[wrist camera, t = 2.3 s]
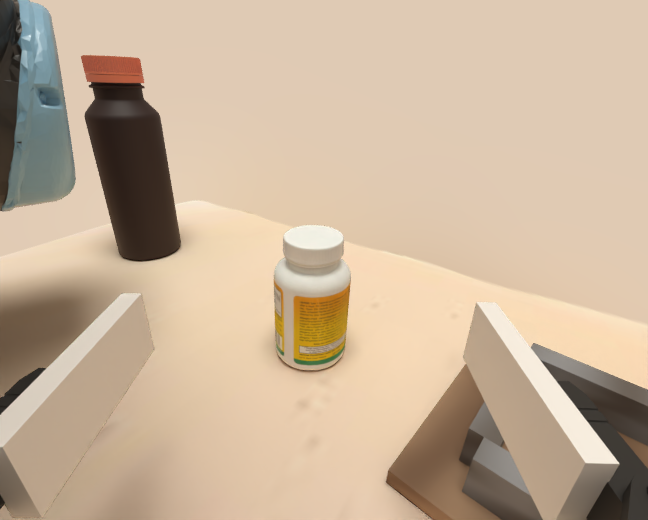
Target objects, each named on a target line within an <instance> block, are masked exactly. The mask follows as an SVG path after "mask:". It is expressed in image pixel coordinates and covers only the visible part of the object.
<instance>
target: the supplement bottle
mask: <svg viewBox="0 0 648 520" xmlns="http://www.w3.org/2000/svg"><path fill="white" fill-rule="evenodd" d="M343 248H344V237H343V235H342V233H341V232H339V231H338V230H336V229H334V228H331V227H327V226H320V225H305V226H299V227H295V228H292V229H290V230H288V231H287V232H286V233H285V234H284V238H283V253H284V256H285V257H284V258H283V259H282V260H280V262H279V263H278V264H277V266H276V268H275V271H274V302H275V337H276V349H277V353H278V355H279V356H280V358H281V359H282V360H283V361H284V362H285V363H286V364H288V365H290V366H292V367H294V368H297V369H301V370H320V369H324V368H327V367H330V366H332V365H333V364H335V363H336V362H337V361H338V360H339V359H340V358H341V357H342V355H343V353H344V349H345V341H346V329H347V317H348V305H349V293H350V281H351V273H350V270H349V267H348V265H347V264H346V263H345V262H344V261H343V260H342V259H341V257H342V255H343V253H344V249H343Z"/></svg>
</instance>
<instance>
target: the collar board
mask: <svg viewBox="0 0 648 520" xmlns="http://www.w3.org/2000/svg"><path fill="white" fill-rule="evenodd" d="M531 349H532V350H533V351H534V353H535V354H536V355H537V357H538V358H539V359H540V361H541V362H542V363H543V364H544V366H545V367H546V368H547V370H548V371H549V372H550V374H551V375H552V376H553V378H554V379H555V380H556V381H569V382H571V383H572V384H573V385H575V386H576V387H577V388H579V389H580V390H581V391H583V392H584V393H585V394H586V395H587V396H588V397H589V398H590V400H591V401H592V402H593V403H594V404H595V406H596V407H597V408H598V411H599V412H601V413H602V414H603V415H604V416H605V418H606V419H607V420H608V423H609V424H611V425H612V426H613V427H614V428H615V430H616V431H617V432H618V433H619V434H620V436H621V437H622V438H623V439H624V440H625V442H626V443H627V444H628V445H629V446H630V448H631V449H632V450H633V451H634V453H635V454H636V455H637V456H638V457H639V459H640V460H641V461H642V462H643V463H644V465H645V466H646V467H647V468H648V390H647V389H644V388H642V387H640V386H637V385H635V384H632V383H630V382H627V381H625V380H623V379H620V378H618V377H615V376H613V375H610V374H608V373H606V372H603V371H601V370H598V369H596V368H593V367H591V366H589V365H586V364H584V363H581V362H579V361H576V360H574V359H572V358H569V357H567V356H564V355H562V354H559V353H557V352H555V351H552V350H550V349H547V348H545V347H543V346H540V345H538V344H535V343H533V345H532V347H531ZM386 482H387V483H388V484H389V485H390V486H392V487H393V488H394V489H396V490H397V491H398V492H399V493H401V494H402V495H403V496H404V497H406V498H407V499H408V500H410V501H411V502H412V503H413V504H415V505H416V506H417V507H418V508H420V509H421V510H422V511H424V512H425V513H426V514H427V515H429V516H430V517H431V518H432V519H434V520H543V519H542V517H541V515H540V513H539V511H538V509H537V507H536V505H535V503H534V501H533V499H532V497H531V495H530V493H529V491H528V489H527V486H526V484H525V482H524V480H523V478H522V476H521V474H520V472H519V470H518V468H517V466H516V464H515V462H514V460H513V458H512V456H511V454H510V452H509V450H508V448H507V446H506V444H505V442H504V440H503V438H502V436H501V434H500V431H499V429H498V427H497V425H496V423H495V421H494V419H493V417H492V415H491V413H490V411H489V409H488V407H487V405H486V403H485V401H484V399H483V397H482V395H481V393H480V391H479V389H478V387H477V385H476V383H475V381H474V379H473V376H472V374H471V372H470V370H469V368H468V366H467V364H466V365H465V366H464V367H463V369H462V370H461V372H460V373H459V374H458V376H457V377H456V378H455V380H454V381H453V382H452V384H451V385H450V387H449V388H448V389H447V391H446V392H445V393H444V395H443V396H442V398H441V399H440V400H439V402H438V403H437V404H436V406H435V407H434V409H433V410H432V411H431V413H430V414H429V415H428V417H427V418H426V419H425V421H424V422H423V424H422V425H421V426H420V428H419V429H418V430H417V432H416V433H415V435H414V436H413V437H412V439H411V440H410V441H409V443H408V444H407V446H406V447H405V448H404V450H403V451H402V452H401V454H400V455H399V456H398V458H397V459H396V461H395V462H394V463H393V465H392V466H391V467H390V469H389V470H388V475H387V481H386Z"/></svg>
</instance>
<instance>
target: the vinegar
mask: <svg viewBox="0 0 648 520" xmlns="http://www.w3.org/2000/svg"><path fill="white" fill-rule="evenodd" d="M81 59H82V63H83V67H84V71H85V74H86V79H87V82H91V83H92V84H91V85H89V87H91V88H93V91H94V96H95V100H94V101H93V102H92V104H91V105H90V107H89V108H88V109H87V111H86V112H85V120H86V124H87V128H88V132H89V136H90V140H91V144H92V148H93V152H94V156H95V160H96V164H97V167H98V171H99V176H100V179H101V183H102V187H103V191H104V195H105V199H106V203H107V207H108V210H109V215H110V219H111V223H112V227H113V231H114V234H115V238H116V242H117V246H118V250H119V253H120V255H122V256H123V257H125V258H128V259H132V260H151V259H156V258H161V257H164V256H167V255H169V254H171V253H173V252H175V251H176V250H177V249H178V248H179V247H180V243H181V240H180V234H179V228H178V222H177V216H176V210H175V204H174V198H173V192H172V186H171V180H170V174H169V168H168V162H167V156H166V149H165V143H164V137H163V131H162V125H161V120H160V115H159V113H158V112H157V111H156V110H155V109H154V108H152V107H151V106H150V105H149V104H148V103H147V102H146V101H145V100H144V98H143V93H142V88H144V86H142V85H141V83H144V79H143V76H141V75H143V74H142V68H141V63H140V59H139V58H132V57H115V56H92V55H83V56H81Z"/></svg>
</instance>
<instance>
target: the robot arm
mask: <svg viewBox="0 0 648 520" xmlns="http://www.w3.org/2000/svg"><path fill="white" fill-rule="evenodd" d="M75 180H76V178H75V167H74V160H73V152H72V144H71V137H70V131H69V125H68V118H67V110H66V105H65V97H64V91H63V85H62V78H61V71H60V65H59V59H58V53H57V46H56V41H55V35H54V31H53V26H52V19H51V15H50V13H49V12H48V10H47V9H46V8H45V7H43V6H42V5H39V4H37V3H33V2H30V1H29V0H0V211H10V210H12V209H13V208H15V207H22V206H28V205H35V204H41V203H47V202H53V201H57V200H60V199H62V198H63V197H65V196H67V195H68V194H69V193H70V192H71V190H72V189H73V187H74V185H75ZM153 351H154V345H153V340H152V336H151V332H150V328H149V323H148V319H147V315H146V311H145V306H144V302H143V298H142V294H141V293H121V294H120V295H119V296H118V297H117V298H116V299H115V300H114V301H113V302H112V303H111V304H110V305H109V306H108V307H107V308H106V309H105V310H104V311H103V312H102V313H101V314H100V315H99V316H98V317H97V318H96V319H95V320H94V321H93V322H92V323H91V324H90V325H89V326H88V327H87V328H86V330H85V331H84V332H83V333H82V334H81V335H80V336H79V337H78V338H77V339H76V340H75V341H74V342H73V343H72V344H71V345H70V346H69V347H68V348H67V349H66V350H65V351H64V352H63V353H62V354H61V355H60V356H59V357H58V358H57V359H56V360H55V361H54V362H53V363H52V364H51V365H50V366H49V367H48V368H38V369H36V370H35V371H33V372H32V373H30V374H28V375H27V376H25V377H23V378H22V379H20V380H19V381H18V382H17V383H16V384H15V385H14V386H13V387H12V388H11V389H10V390H8V391H7V392H6V393H5V396H4V397H1V398H0V509H1V508H2V506H3V505H4V504H5V506H6V508H7V509H8V511H9V512H10V514H11V516H12V517H13V518H43V516H44V515H45V513H46V512H47V510H48V509H49V507H50V506H51V504H52V503H53V501H54V500H55V498H56V497H57V495H58V494H59V492H60V491H61V489H62V488H63V486H64V485H65V483H66V482H67V480H68V479H69V477H70V476H71V474H72V473H73V471H74V470H75V468H76V467H77V465H78V464H79V462H80V461H81V459H82V458H83V456H84V455H85V453H86V452H87V450H88V449H89V447H90V446H91V444H92V443H93V441H94V440H95V438H96V436H97V435H98V433H99V432H100V430H101V429H102V427H103V426H104V424H105V423H106V421H107V420H108V418H109V417H110V415H111V414H112V412H113V411H114V409H115V408H116V406H117V405H118V403H119V402H120V400H121V399H122V397H123V396H124V394H125V393H126V391H127V390H128V388H129V387H130V385H131V384H132V382H133V381H134V379H135V378H136V376H137V375H138V373H139V372H140V370H141V369H142V367H143V366H144V364H145V363H146V361H147V360H148V358H149V357H150V355H151V354H152V352H153ZM463 358H464V360H465V362H466V364H467V366H468V368H469V370H470V372H471V374H472V376H473V379H474V381H475V383H476V385H477V387H478V389H479V391H480V393H481V395H482V397H483V399H484V401H485V403H486V405H487V407H488V409H489V411H490V413H491V415H492V417H493V419H494V421H495V423H496V425H497V427H498V429H499V431H500V434H501V436H502V438H503V440H504V442H505V444H506V446H507V448H508V450H509V452H510V454H511V456H512V458H513V460H514V462H515V464H516V466H517V468H518V470H519V472H520V474H521V476H522V478H523V480H524V482H525V484H526V486H527V489H528V491H529V493H530V495H531V497H532V499H533V501H534V503H535V505H536V507H537V509H538V511H539V513H540V515H541V517H542V519H543V520H648V468H647V467H646V466H645V465H644V463H643V462H642V461H641V460H640V459H639V457H638V456H637V455H636V454H635V453H634V451H633V450H632V449H631V448H630V446H629V445H628V444H627V443H626V442H625V440H624V439H623V438H622V437H621V436H620V434H619V433H618V432H617V431H616V430H615V428H614V427H613V426H612V425H611V424H609V423H608V420H607V419H606V418H605V416H604V415H603V414H602V413H601V412H599V411H598V408H597V407H596V406H595V404H594V403H593V402H592V401H591V400H590V398H589V397H588V396H587V395H586V394H585V393H584V392H583V391H581V390H580V389H579V388H577V387H576V386H575V385H573V384H572V383H571V382H569V381H556V380H555V379H554V378H553V376H552V375H551V374H550V372H549V371H548V370H547V368H546V367H545V366H544V364H543V363H542V362H541V361H540V359H539V358H538V357H537V355H536V354H535V353H534V351H533V350H532V349H531V348H530V346H529V345H528V344H527V342H526V341H525V340H524V338H523V337H522V336H521V334H520V333H519V332H518V331H517V329H516V328H515V327H514V325H513V324H512V323H511V321H510V320H509V319H508V318H507V316H506V315H505V314H504V312H503V311H502V310H501V308H500V307H499V306H498V304H497V303H491V302H476V306H475V310H474V314H473V318H472V322H471V327H470V331H469V335H468V339H467V343H466V347H465V351H464V355H463Z"/></svg>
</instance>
